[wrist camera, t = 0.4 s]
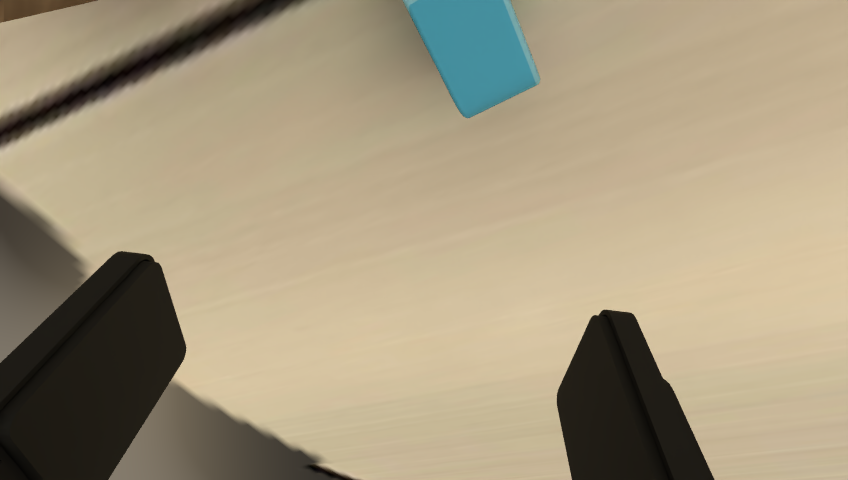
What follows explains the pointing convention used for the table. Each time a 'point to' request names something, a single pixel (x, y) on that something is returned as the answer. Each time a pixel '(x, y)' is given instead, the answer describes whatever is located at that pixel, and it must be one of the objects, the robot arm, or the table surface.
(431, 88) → the table surface
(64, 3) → the overhang shelf
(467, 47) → the data package
